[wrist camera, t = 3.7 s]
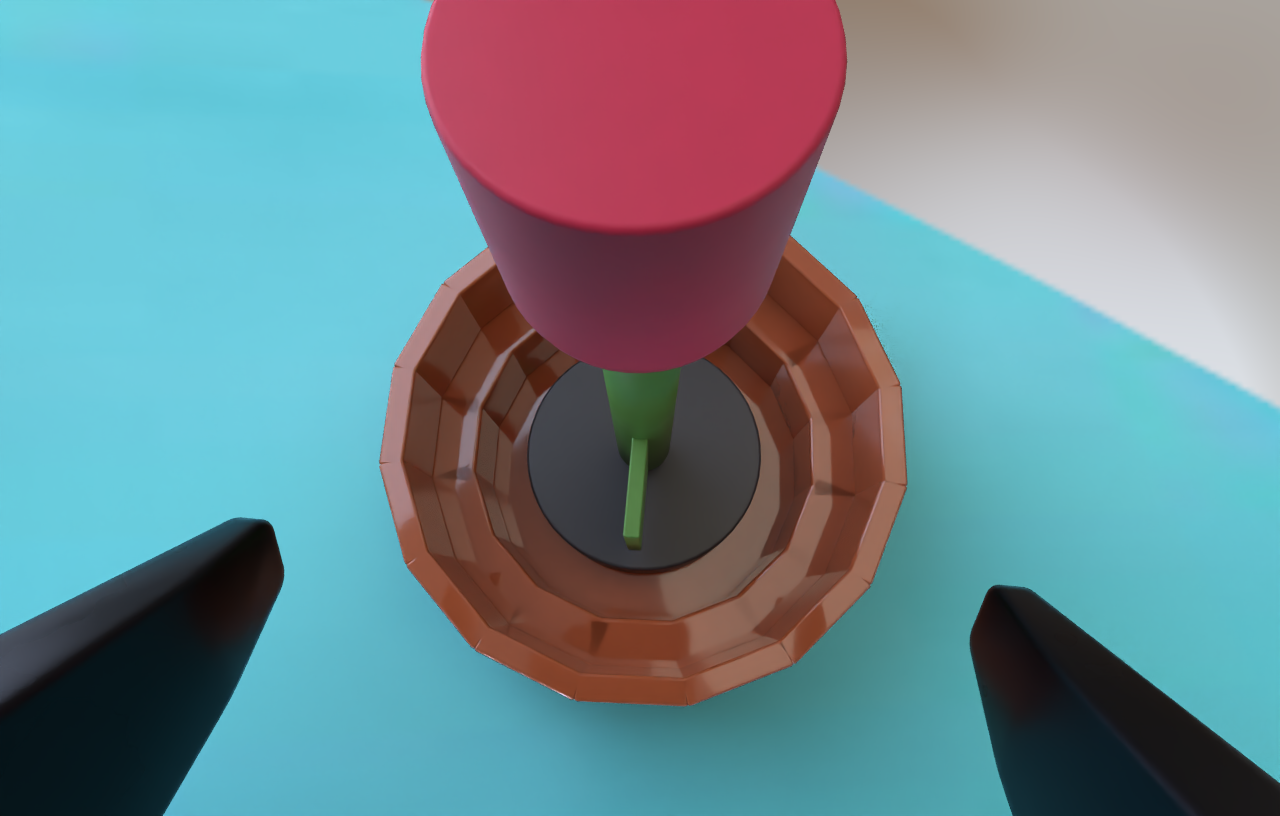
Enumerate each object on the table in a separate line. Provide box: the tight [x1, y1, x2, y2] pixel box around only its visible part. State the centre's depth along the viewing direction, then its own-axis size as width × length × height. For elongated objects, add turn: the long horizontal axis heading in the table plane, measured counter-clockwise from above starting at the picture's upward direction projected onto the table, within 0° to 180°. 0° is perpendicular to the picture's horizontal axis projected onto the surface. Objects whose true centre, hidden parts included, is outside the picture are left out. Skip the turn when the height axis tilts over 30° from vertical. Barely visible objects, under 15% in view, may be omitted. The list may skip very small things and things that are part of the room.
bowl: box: [379, 236, 907, 707], centre depth 16 cm, size 11×11×4 cm
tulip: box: [421, 0, 847, 573], centre depth 11 cm, size 6×6×14 cm
